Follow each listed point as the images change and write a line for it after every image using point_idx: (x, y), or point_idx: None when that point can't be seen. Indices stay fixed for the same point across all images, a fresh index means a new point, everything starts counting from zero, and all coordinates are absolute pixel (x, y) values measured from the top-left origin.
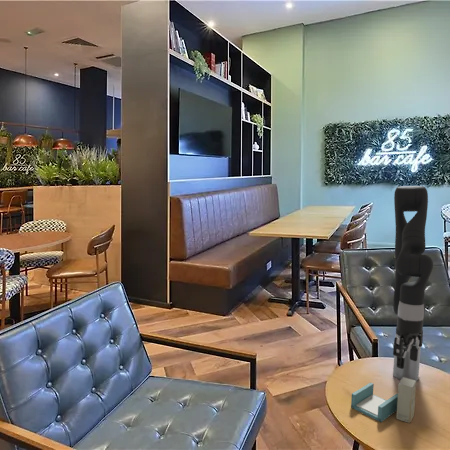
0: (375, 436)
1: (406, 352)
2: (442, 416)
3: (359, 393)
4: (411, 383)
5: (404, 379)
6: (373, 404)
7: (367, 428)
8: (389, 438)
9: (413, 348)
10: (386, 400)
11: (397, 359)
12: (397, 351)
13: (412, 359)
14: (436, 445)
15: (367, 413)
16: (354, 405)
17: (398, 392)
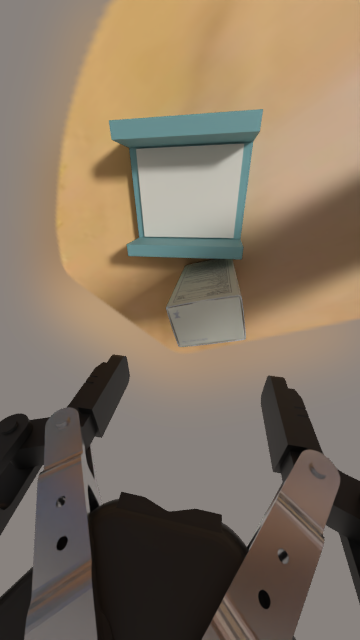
0: (90, 264)
1: (95, 480)
2: (277, 330)
3: (145, 139)
4: (206, 336)
5: (220, 308)
6: (183, 191)
7: (96, 236)
8: (111, 286)
9: (289, 467)
10: (174, 245)
11: (76, 396)
12: (47, 444)
13: (265, 388)
14: (165, 346)
15: (136, 203)
16: (129, 147)
17: (172, 294)
